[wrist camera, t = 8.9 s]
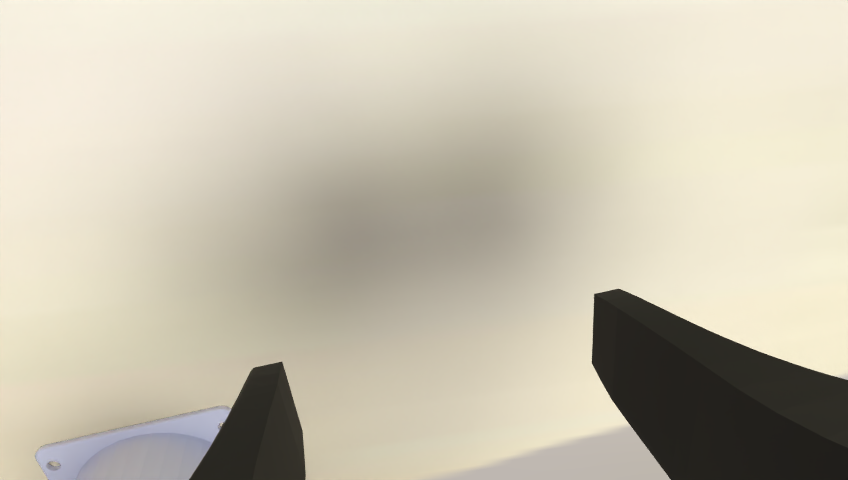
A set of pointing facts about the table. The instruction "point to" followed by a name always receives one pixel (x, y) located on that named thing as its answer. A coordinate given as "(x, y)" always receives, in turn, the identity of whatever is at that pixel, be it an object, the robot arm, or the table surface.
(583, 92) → the table surface
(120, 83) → the table surface
